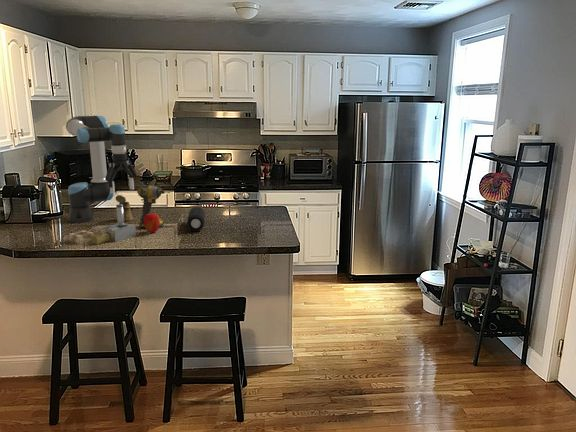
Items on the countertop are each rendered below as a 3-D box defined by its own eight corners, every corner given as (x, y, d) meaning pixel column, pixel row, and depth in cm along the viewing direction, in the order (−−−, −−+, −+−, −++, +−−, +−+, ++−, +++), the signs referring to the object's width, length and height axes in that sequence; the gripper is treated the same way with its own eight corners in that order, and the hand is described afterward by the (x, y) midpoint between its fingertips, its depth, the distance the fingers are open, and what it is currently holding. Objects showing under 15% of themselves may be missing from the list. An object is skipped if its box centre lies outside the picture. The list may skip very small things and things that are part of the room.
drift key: (92, 243, 255) (91, 235, 254) (108, 238, 264) (107, 230, 263) (97, 244, 253) (96, 236, 252) (113, 239, 262) (113, 232, 260)
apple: (160, 233, 274) (158, 213, 271) (143, 234, 272) (142, 214, 269) (160, 229, 282) (159, 209, 280) (145, 230, 281) (143, 210, 278)
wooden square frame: (69, 241, 260) (68, 234, 259) (84, 237, 267) (83, 230, 266) (80, 243, 255) (79, 236, 254) (94, 239, 262) (93, 232, 261)
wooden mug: (113, 223, 296) (111, 195, 291) (120, 218, 309) (118, 190, 305) (128, 223, 296) (126, 195, 292) (134, 218, 309) (132, 190, 305)
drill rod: (117, 236, 268) (114, 205, 264) (122, 235, 271) (120, 204, 267) (121, 237, 267) (119, 206, 262) (127, 235, 269) (124, 204, 265)
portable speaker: (189, 221, 301) (188, 206, 299) (205, 221, 303) (204, 205, 300) (187, 232, 277) (186, 216, 274) (204, 232, 278) (204, 215, 276)
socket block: (102, 238, 264) (101, 228, 263) (122, 232, 276) (122, 222, 274) (115, 241, 259) (114, 231, 257) (136, 235, 270) (135, 225, 269)
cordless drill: (167, 229, 282) (165, 188, 276) (136, 228, 286) (133, 186, 280) (174, 226, 291) (172, 185, 284) (144, 224, 294) (141, 184, 288)
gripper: (105, 155, 249) (109, 195, 254) (141, 151, 270) (144, 188, 275) (95, 154, 253) (99, 194, 258) (131, 150, 274) (134, 187, 279)
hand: (122, 191), depth 267 cm, fingers open, 13 cm apart
